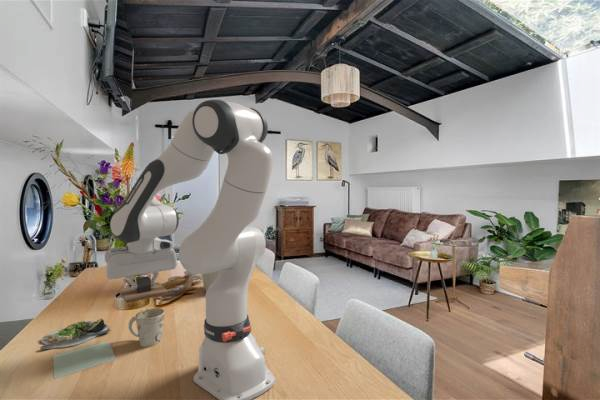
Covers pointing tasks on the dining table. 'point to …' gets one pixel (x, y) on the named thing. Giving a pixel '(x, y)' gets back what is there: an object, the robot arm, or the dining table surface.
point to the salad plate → (75, 334)
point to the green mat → (82, 359)
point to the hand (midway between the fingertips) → (143, 287)
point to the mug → (148, 326)
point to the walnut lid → (143, 290)
